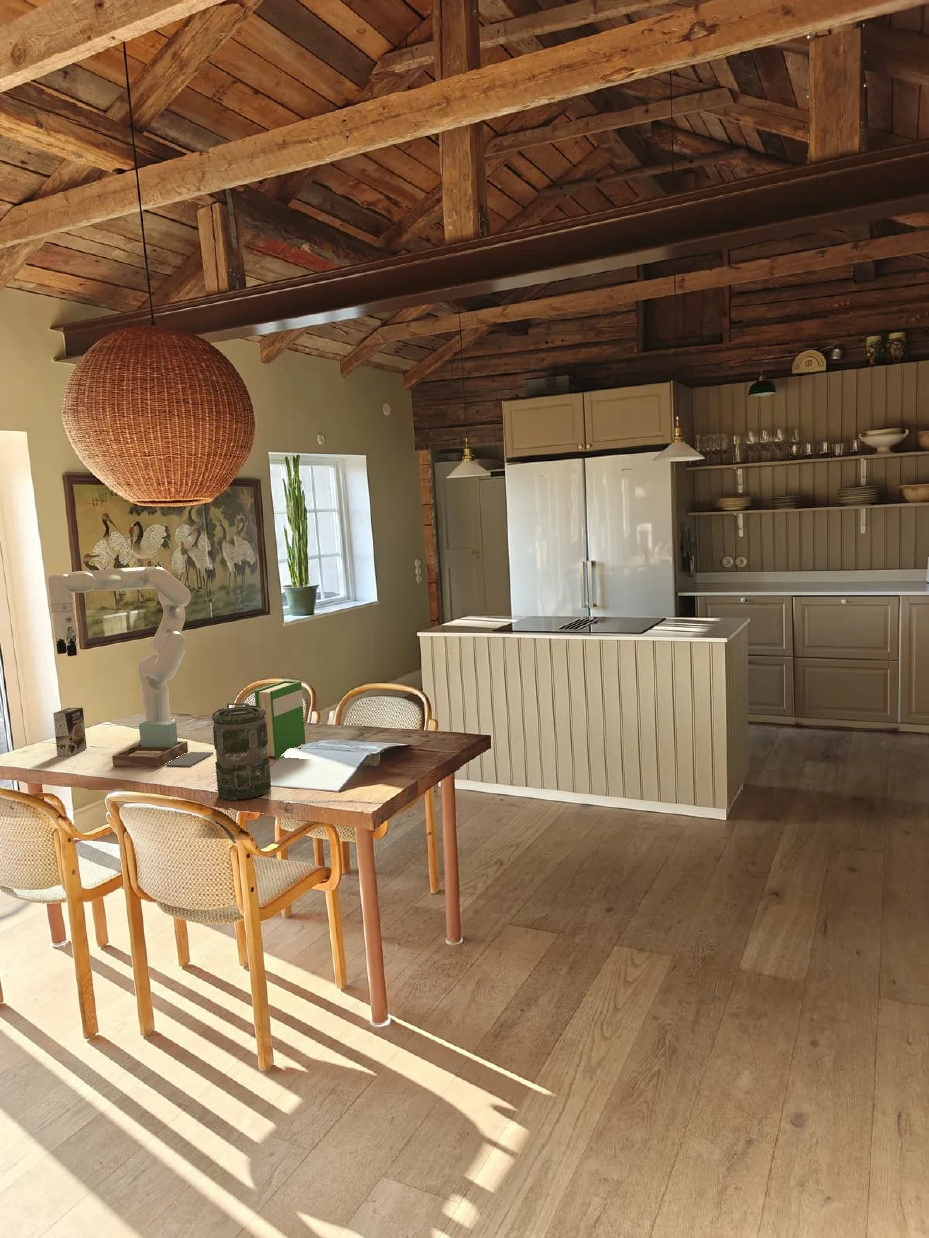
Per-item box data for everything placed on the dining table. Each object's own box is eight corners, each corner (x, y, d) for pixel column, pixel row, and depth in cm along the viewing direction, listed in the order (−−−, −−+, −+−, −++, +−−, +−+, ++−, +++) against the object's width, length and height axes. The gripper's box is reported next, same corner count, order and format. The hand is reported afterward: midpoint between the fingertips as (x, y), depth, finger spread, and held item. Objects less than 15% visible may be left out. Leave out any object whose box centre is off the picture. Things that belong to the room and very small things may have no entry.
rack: (146, 751, 318) (145, 740, 318) (188, 752, 314) (187, 741, 314) (113, 767, 299) (111, 756, 298) (157, 768, 295) (156, 757, 294)
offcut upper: (137, 756, 307) (137, 750, 307) (163, 756, 305) (162, 751, 305) (128, 761, 301) (127, 755, 301) (153, 761, 299) (153, 756, 299)
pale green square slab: (149, 753, 315) (146, 721, 314) (178, 753, 313) (175, 721, 311) (141, 756, 311) (138, 724, 309) (171, 757, 308) (169, 724, 307)
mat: (191, 753, 312) (190, 751, 312) (213, 753, 310) (213, 752, 310) (166, 766, 297) (166, 764, 297) (190, 767, 295) (190, 765, 295)
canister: (279, 785, 270) (273, 697, 267) (257, 802, 255) (250, 709, 252) (233, 784, 274) (226, 697, 270) (208, 800, 258) (201, 708, 255)
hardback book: (277, 759, 300) (272, 691, 297) (259, 757, 303) (254, 690, 300) (305, 745, 316) (301, 681, 313) (288, 744, 319) (284, 680, 316)
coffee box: (72, 756, 316) (67, 712, 314) (56, 755, 317) (52, 712, 315) (87, 749, 325) (83, 707, 323) (72, 748, 326) (68, 706, 324)
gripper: (82, 608, 310) (87, 655, 313) (64, 606, 323) (68, 651, 325) (60, 610, 305) (65, 658, 307) (43, 608, 317) (47, 654, 320)
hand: (67, 654), depth 316 cm, fingers open, 9 cm apart
